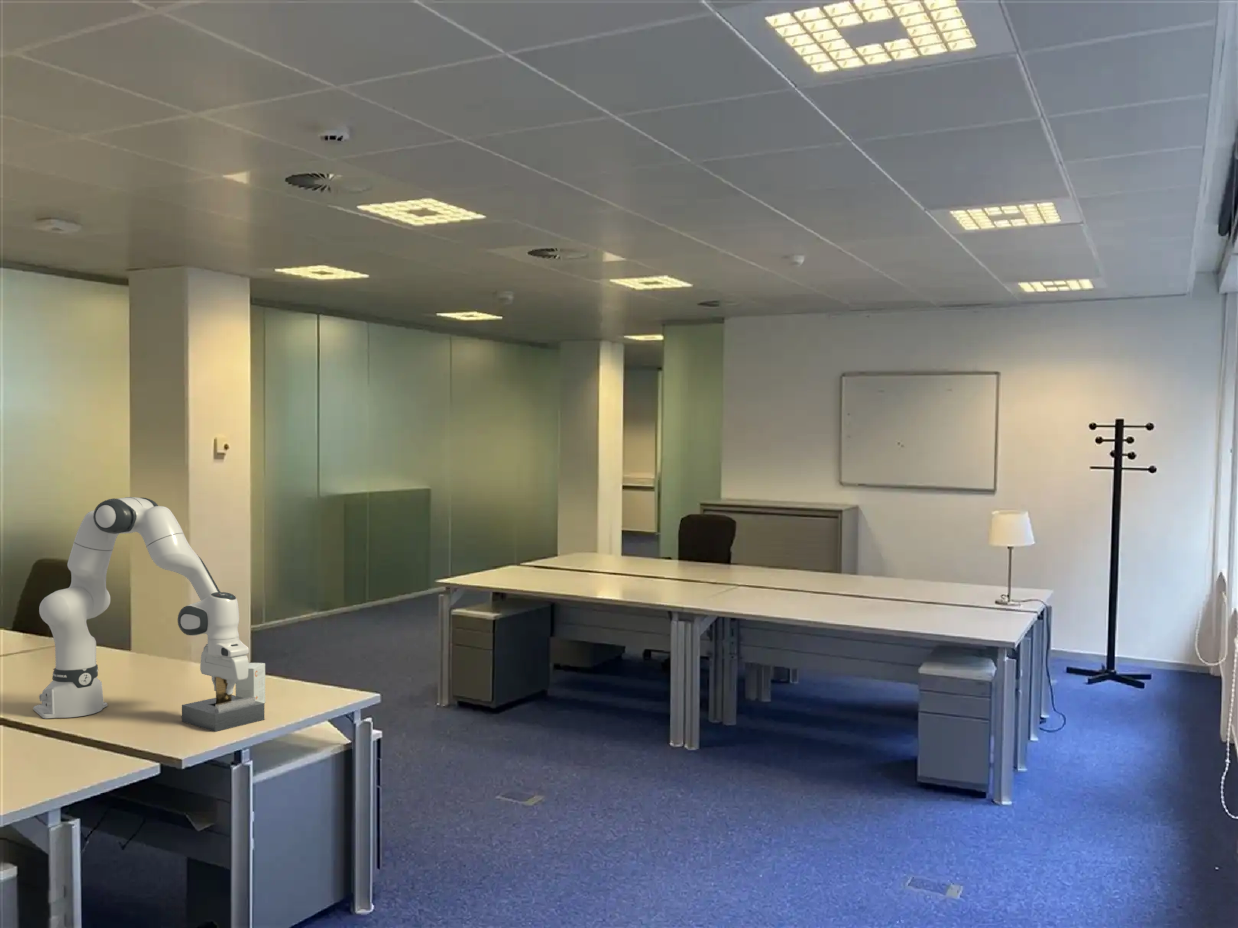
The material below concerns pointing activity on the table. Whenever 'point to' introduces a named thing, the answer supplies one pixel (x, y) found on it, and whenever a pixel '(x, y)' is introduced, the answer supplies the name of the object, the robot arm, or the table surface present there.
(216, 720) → the jig
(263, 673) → the small box
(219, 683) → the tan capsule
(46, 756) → the table surface
